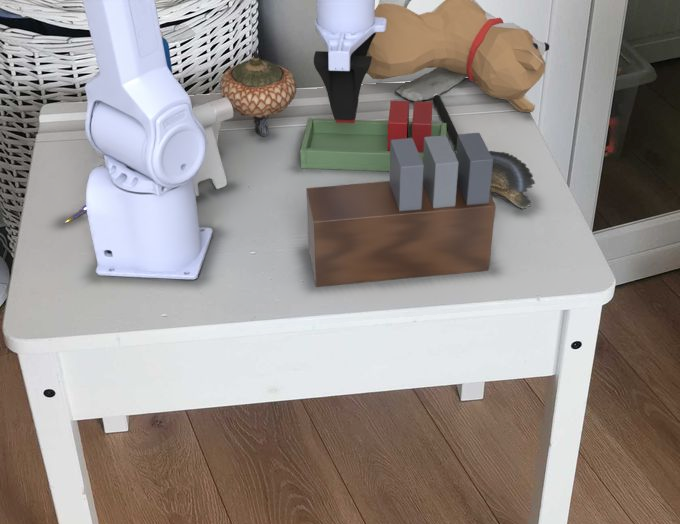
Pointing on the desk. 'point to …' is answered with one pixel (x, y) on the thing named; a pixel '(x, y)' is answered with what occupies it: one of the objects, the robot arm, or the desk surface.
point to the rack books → (400, 122)
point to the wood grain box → (393, 235)
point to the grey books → (440, 171)
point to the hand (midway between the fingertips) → (346, 106)
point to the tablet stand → (212, 140)
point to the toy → (459, 48)
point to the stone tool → (430, 84)
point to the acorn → (258, 90)
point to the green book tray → (350, 144)
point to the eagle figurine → (510, 178)
